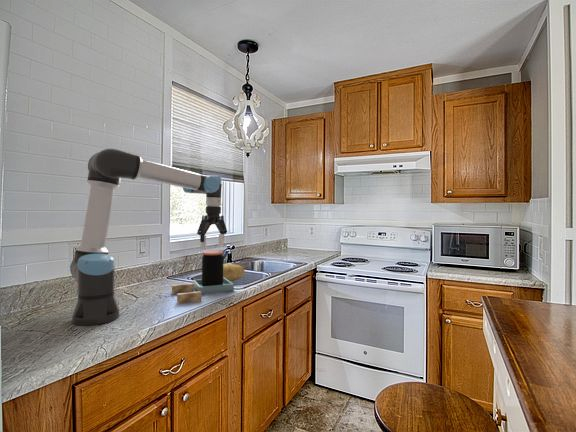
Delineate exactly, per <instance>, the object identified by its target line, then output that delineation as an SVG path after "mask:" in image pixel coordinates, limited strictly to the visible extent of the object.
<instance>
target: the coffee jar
mask: <svg viewBox="0 0 576 432" xmlns="http://www.w3.org/2000/svg"><path fill="white" fill-rule="evenodd" d="M201 254H202V257H201V279H202V286H203V287H204V286H214V285H223V265H224V251H221V250H206V251H205V250H204V251H202V253H201Z"/></svg>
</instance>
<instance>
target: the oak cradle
mask: <svg viewBox="0 0 576 432" xmlns="http://www.w3.org/2000/svg"><path fill="white" fill-rule="evenodd" d="M171 294H172V295H177V298H176V299H177V300H176V301H177V305H180V304H188V303H190V304H191V303H197V302H202V294H201V291H198V292H197V291H195V289H194V284H193V282H191V283H190V282H189V283H178V284H172V285H171Z"/></svg>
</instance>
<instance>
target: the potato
mask: <svg viewBox="0 0 576 432" xmlns="http://www.w3.org/2000/svg"><path fill="white" fill-rule="evenodd" d="M244 274H245V268H244V267H243V266H242V265H239V264H234V263H226V264H224V263H223V277H225V278H226V279H227V280H229V281H230V282H234V281H237V280H240V279H242V277H243V276H244Z"/></svg>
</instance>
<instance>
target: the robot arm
mask: <svg viewBox="0 0 576 432" xmlns="http://www.w3.org/2000/svg"><path fill="white" fill-rule="evenodd" d="M87 170H88V175H87V180H86V181H87V183H88V184H89V185H90V189H89V195H88V200H87V201H88V202H87V206H86V213H85V219H84V224H83V229H82V236H81V241H80V242H81V243H80V245H79V246H77V247H76V248H75V251H74V256H73V259H72V261H71V263H70V267H69V271H70V274H71V276H72V278H73V279H74V280H75V281H77V302H76V305H75V307H74V310H73V313H72V315H71V323H72V324H74V325H76V326H84V327H85V326H96V325H102V324H106V323H110V322H113V321H114V320H116V319H119V317H120V308H119V306H118V302H117V300H116V297H115V267H116V263H115V259H114V257H113V256H112V255H110V254H109V250H108V249H107V247H106V243H107V239H108V238H107V237H108V232H109V231H108V230H109V228H110V227H109V226H110V219H111V214H112V207H113V204H114V203H113V202H114V196H115V191H116V189H118V188H120V185H121V180H122V179H129V180H133V181H134V180H137V179H141V180H146V181H152V182H154V183H155V182H156V183H161V184H166V185H170V186H174V187H177V188H182V190H183V192H185V194H186V193H187V194H203V195H205V205H206V207H205V214H206V215H202V217H201V222H200V223H199V225H198V226H199V227H198V229H197V232H196V235H199V239H200V241H199V242H200V249H201V250H202V249H203V250H206V248H207V236H206V234H207V233H208V231H209V229H210V227H211V226H212V225H215V227H216V228H217V230H218V233H219V234H218V247H224V244H225V235H226V234H227V233H228V229H227V225H226V223H225V220H224V219H225V217H224V215H220V214H221V213H222V207H221V206H222V185H223V183H222V182H223V181H222V177H221V176H220V175H212V174H211V175H204V174H201V173H197V172H193V171H189V170H185V169H180V168H177V167H173V166H168V165H165V164H161V163H158V162H153V161H149V160H145V159H142V157H141V156H140V155H137V154H133V153H130V152H126V151H123V150H120V149H115V148H105V149H102V150H100V151H99V152H96V153H94V154H93V155H92V156H91V157H89V160H88V163H87Z"/></svg>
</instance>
